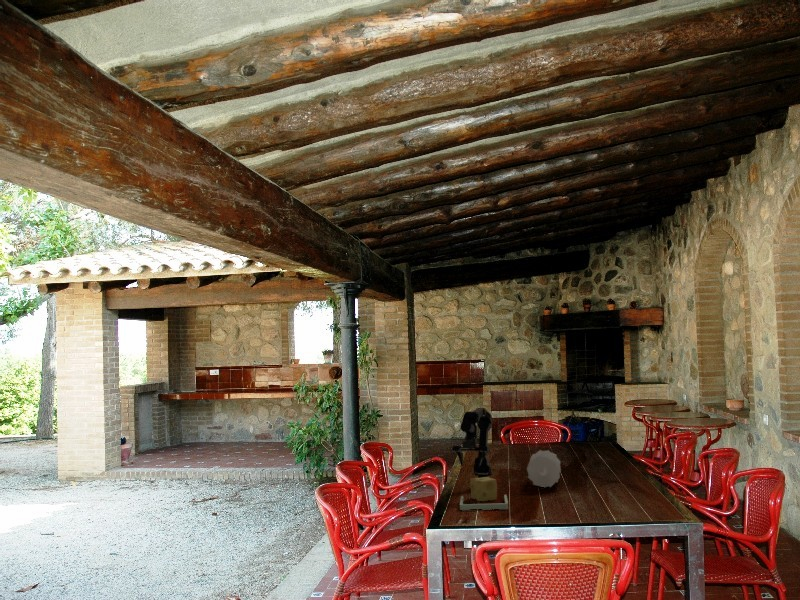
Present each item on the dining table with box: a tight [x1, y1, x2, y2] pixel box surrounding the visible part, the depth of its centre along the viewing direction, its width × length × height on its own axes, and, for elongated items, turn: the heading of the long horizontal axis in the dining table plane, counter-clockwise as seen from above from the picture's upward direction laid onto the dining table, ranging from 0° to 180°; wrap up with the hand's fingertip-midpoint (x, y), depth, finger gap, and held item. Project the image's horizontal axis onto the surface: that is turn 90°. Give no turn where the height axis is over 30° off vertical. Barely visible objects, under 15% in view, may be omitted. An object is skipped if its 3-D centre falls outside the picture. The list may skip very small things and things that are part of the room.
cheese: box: [469, 476, 498, 502], centre depth 352 cm, size 10×11×10 cm
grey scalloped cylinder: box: [526, 449, 562, 488], centre depth 377 cm, size 18×18×25 cm
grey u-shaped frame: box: [459, 494, 509, 511], centre depth 338 cm, size 19×22×2 cm
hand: (470, 466), depth 360 cm, fingers open, 9 cm apart
